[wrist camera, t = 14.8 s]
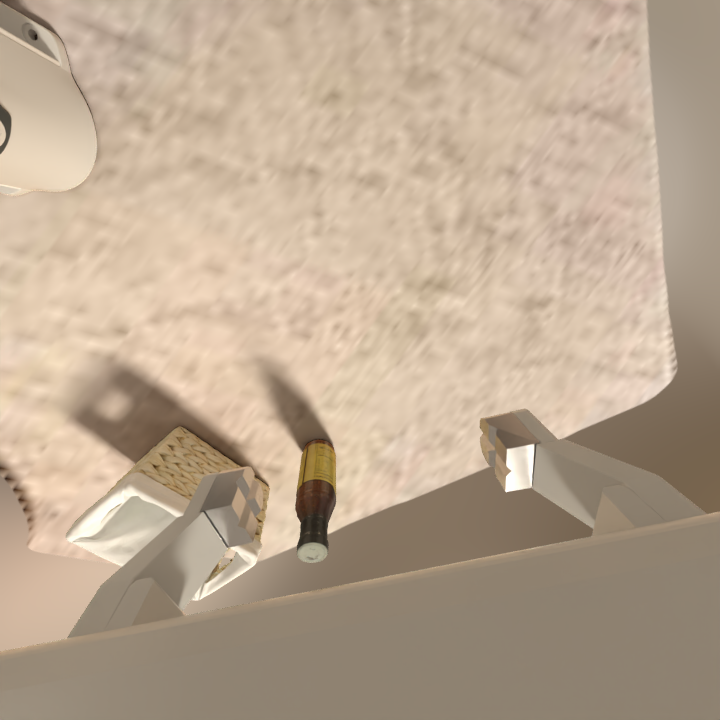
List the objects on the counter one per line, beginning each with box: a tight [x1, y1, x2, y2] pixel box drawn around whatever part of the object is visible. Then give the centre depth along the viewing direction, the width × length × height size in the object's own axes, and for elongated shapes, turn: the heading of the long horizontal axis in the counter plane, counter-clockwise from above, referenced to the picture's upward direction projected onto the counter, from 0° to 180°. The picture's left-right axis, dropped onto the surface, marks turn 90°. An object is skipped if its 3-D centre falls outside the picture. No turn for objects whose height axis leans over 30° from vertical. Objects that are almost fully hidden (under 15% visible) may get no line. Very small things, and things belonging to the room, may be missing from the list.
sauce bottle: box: [295, 439, 336, 563], centre depth 47 cm, size 7×6×20 cm
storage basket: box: [66, 427, 270, 600], centre depth 51 cm, size 24×16×15 cm
